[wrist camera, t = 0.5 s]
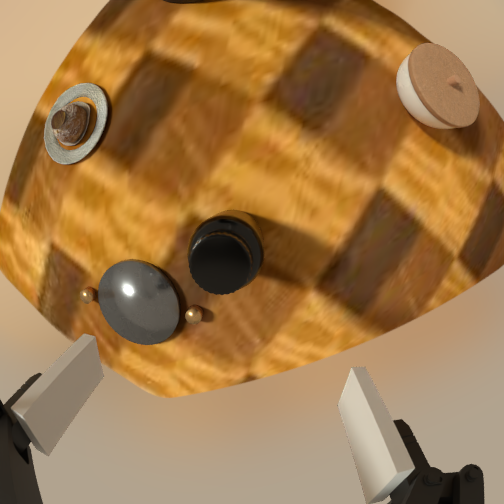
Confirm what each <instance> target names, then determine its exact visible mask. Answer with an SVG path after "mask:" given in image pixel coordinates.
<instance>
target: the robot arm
mask: <svg viewBox="0 0 504 504" xmlns="http://www.w3.org/2000/svg"><path fill="white" fill-rule="evenodd" d="M164 1H167V2H173V3H190V2H198V1H203V0H164ZM103 377H104V374H103V370H102V366H101V362H100V357H99V353H98V348H97V343H96V338H95V336H91V335H88V334H83V335H82V336H81V337H80V338H79V339H78V340H77V341H76V342H75V343H74V344H73V345H72V346H70V347H69V348H68V349H67V350H66V351H65V352H64V353H63V354H62V355H61V356H60V357H59V358H58V359H57V360H56V361H55V362H54V363H53V364H52V365H51V366H50V367H49V368H48V369H47V370H46V371H45V372H44V373H43V374H41V373H38V374H36V375H34V376H32V377H30V378H29V379H28V380H27V381H26V383H25V384H23V385H22V386H21V389H19V390H18V391H17V392H16V393H15V394H14V395H13V396H12V397H11V398H10V399H9V400H8V401H7V402H6V403H5V404H4V405H3V403H2V402H1V400H0V504H43V502H42V499H41V495H40V491H39V488H38V484H37V479H36V475H35V471H34V465H33V460H32V454H31V449H30V447H29V444H30V442H32V443H33V445H34V446H35V448H36V449H37V450H39V451H40V452H42V453H44V454H46V455H47V456H49V455H50V453H51V452H52V450H53V449H54V447H55V446H56V444H57V442H58V441H59V440H60V438H61V437H62V435H63V434H64V432H65V431H66V429H67V428H68V426H69V425H70V423H71V422H72V421H73V419H74V417H75V416H76V415H77V413H78V412H79V410H80V409H81V408H82V406H83V405H84V403H85V402H86V400H87V399H88V398H89V396H90V395H91V393H92V392H93V391H94V389H95V388H96V387H97V385H98V384H99V383H100V381H101V380H102V378H103ZM337 406H338V409H339V412H340V415H341V418H342V421H343V425H344V428H345V431H346V434H347V438H348V441H349V444H350V448H351V451H352V454H353V458H354V461H355V465H356V468H357V471H358V475H359V478H360V482H361V485H362V489H363V493H364V496H365V500H366V504H371V503H376V502H380V501H383V500H384V499H385V498H387V497H388V496H389V495H390V498H391V501H390V502H389V503H388V504H484V480H483V473H482V470H481V469H480V467H478V466H477V465H473V464H470V465H466V466H465V467H463V468H462V469H461V470H460V471H459V472H453V473H443V472H441V470H439V469H437V468H435V467H430V465H429V464H428V462H427V460H426V458H425V456H424V454H423V452H422V450H421V448H420V446H419V444H418V443H417V440H416V438H415V436H413V433H412V431H411V429H410V427H409V425H407V424H406V423H405V422H404V421H403V420H402V419H400V420H394V421H393V420H392V418H391V416H390V414H389V412H388V410H387V408H386V406H385V404H384V402H383V400H382V398H381V396H380V394H379V392H378V390H377V389H376V386H375V385H374V383H373V381H372V379H371V377H370V375H369V373H368V371H367V369H366V367H351V370H350V373H349V376H348V379H347V382H346V384H345V387H344V390H343V392H342V395H341V398H340V400H339V403H338V405H337Z"/></svg>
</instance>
